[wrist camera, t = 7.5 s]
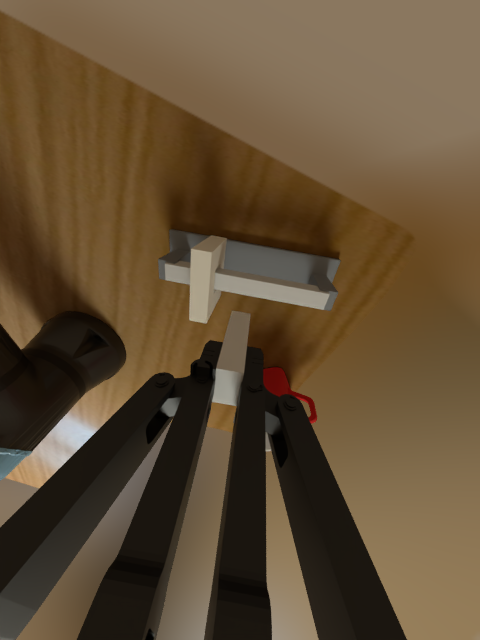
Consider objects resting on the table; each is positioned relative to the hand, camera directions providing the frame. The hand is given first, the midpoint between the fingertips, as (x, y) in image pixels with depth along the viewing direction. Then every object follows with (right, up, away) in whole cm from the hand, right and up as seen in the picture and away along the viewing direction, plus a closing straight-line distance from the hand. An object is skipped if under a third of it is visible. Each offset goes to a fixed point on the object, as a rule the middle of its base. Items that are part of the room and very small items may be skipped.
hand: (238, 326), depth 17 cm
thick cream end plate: (-3, +8, +11) cm, 14 cm away
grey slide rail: (+2, +8, +13) cm, 15 cm away
